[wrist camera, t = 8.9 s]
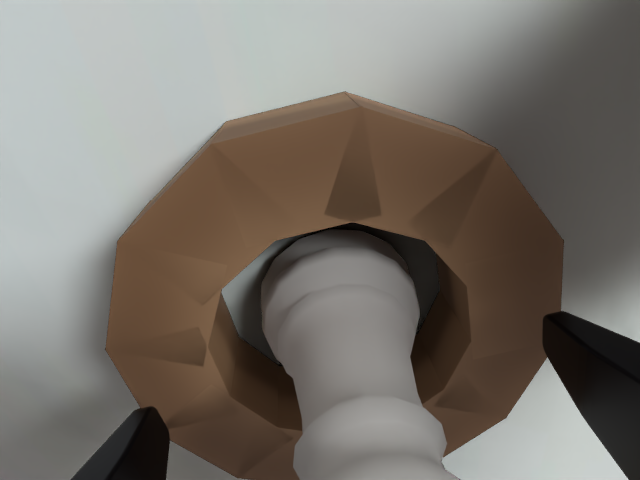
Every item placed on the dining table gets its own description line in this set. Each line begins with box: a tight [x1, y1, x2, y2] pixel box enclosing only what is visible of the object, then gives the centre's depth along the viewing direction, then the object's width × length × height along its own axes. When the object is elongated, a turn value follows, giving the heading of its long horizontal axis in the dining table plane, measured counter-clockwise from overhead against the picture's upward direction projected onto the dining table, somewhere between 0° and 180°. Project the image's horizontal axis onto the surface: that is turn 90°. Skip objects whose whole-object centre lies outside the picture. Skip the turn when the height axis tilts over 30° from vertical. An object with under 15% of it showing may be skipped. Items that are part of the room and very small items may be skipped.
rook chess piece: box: [261, 229, 460, 480], centre depth 9 cm, size 4×4×8 cm
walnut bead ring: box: [105, 91, 564, 480], centre depth 11 cm, size 11×11×2 cm
